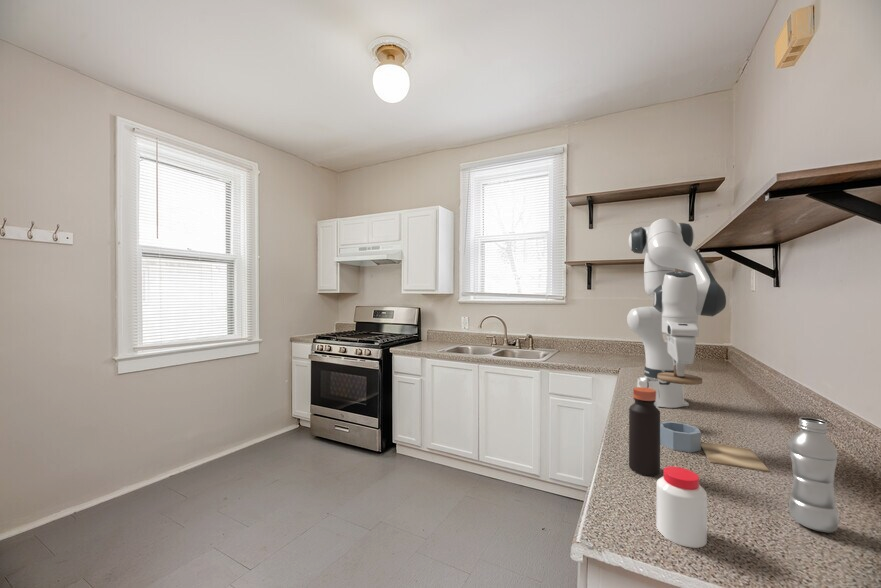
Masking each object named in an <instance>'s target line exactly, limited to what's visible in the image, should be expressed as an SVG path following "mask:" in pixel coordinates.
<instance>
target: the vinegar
mask: <svg viewBox="0 0 881 588" xmlns="http://www.w3.org/2000/svg"><path fill="white" fill-rule="evenodd" d="M632 398H633V401H634V403H632V404H631V405H630V407H629V409H628V412H629V413H628V420H629V421H628V467H629V469H631V470H632V471H633V472H634V473H637V474H639V475H643V476H647V477H651V476H652V477H653V476H658V475H659V474H660V473H661V444H660V423H661V412H660V409H659V408H658V409H657V408H656V407H655V405H654V402H656V401H655V400H656V391H655V390H653V389H650V388H644V387H637V386H636V387H634V388H633V395H632Z"/></svg>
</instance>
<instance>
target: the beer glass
mask: <svg viewBox="0 0 881 588" xmlns="http://www.w3.org/2000/svg"><path fill="white" fill-rule="evenodd" d="M636 379H637V381H636V387H644V388H650V389H653V390H655V391H656V400H655V401H656V402H654V405H655V407H656V408H657V409H658V410H659V406H658V404H659V399H660V385H659V380H658V379H656V378H650V377H645V376H638V377H637V378H636Z"/></svg>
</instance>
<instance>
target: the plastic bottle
mask: <svg viewBox="0 0 881 588" xmlns="http://www.w3.org/2000/svg"><path fill="white" fill-rule="evenodd" d="M798 428H799V429H800V430H798V431H797V432H796V433H794V434H793V435H792V436H791V437H790V438H789V441H788V443H787V444H788V451H789V456H790V462H791V468H792V486H791V494H790V497H789V502H788V509H789V514H790V515H791V517H792V518H793V520H794V521H796V522H797V524H799V525H801V526H804V527H805V528H808V529H809V530H814V531H817V532H820V533H826V534H827V533H828V534H829V533H834V532H835V531H837V530H838V528H839V524H840V516H839V511H838V508H837V506H836V505H837V504H836V498H835V490H834V487H835V486H834V485H835V483H834V482H835V473H836V469H837V464H838V463H837V462H838V454H839V453H838V450H837V448H836V446H835V445H834V444H833V442H832V441H831V440H830V439H829V438H828V436H827V435H826V434H828V433H829V432H828V431H829V430H828V421H825V420H822V419H820V418H819V419H818V418H814V417H806V416H800V417H799V419H798Z"/></svg>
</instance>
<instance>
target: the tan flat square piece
mask: <svg viewBox="0 0 881 588" xmlns="http://www.w3.org/2000/svg"><path fill="white" fill-rule="evenodd" d="M701 450H702V451H703V453H704V454H705V456H706V457H707V460H708V461H709V462H710V463H712V464H719V465H724V466H731V467H735V468H736V467H737V468H741V469H742V468H744V469H749V470H754V471H755V470H756V471H759V472H761V471H762V472H767V473H770V471H771V470H770V469H769V468H768V467H767V466H766V465H765V464H764V463H763V461H762V460H761V459H760V458H759V457H758V456H757V454H755V452H754V451H753V450H752V449H750V448H746V447H740V446H731V445H726V444H725V445H724V444H719V443H718V444H717V443H712V442H704V441H701Z"/></svg>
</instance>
